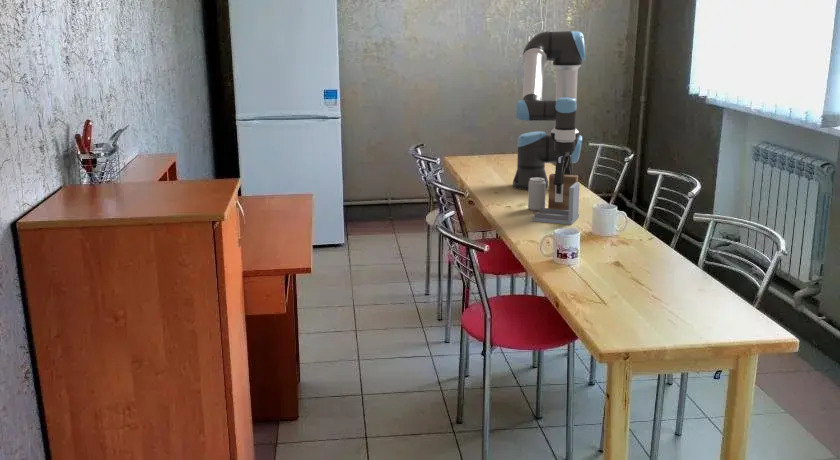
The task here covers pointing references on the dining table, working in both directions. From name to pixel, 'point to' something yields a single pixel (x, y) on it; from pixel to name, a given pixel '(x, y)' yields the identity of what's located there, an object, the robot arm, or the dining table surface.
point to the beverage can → (536, 194)
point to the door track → (558, 214)
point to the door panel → (567, 183)
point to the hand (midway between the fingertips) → (562, 198)
